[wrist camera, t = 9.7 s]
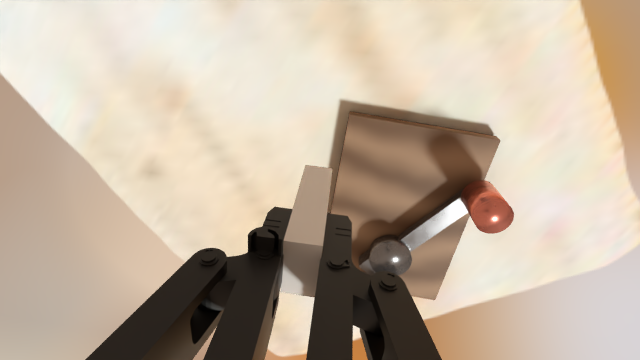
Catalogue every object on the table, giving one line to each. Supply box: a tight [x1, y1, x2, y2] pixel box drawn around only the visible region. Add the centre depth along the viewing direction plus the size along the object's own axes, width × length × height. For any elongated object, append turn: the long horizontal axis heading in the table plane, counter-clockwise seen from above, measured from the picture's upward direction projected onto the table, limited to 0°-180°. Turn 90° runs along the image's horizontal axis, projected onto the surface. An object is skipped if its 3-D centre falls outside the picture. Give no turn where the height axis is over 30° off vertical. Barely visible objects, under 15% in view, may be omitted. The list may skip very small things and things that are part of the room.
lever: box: [359, 180, 514, 276], centre depth 43 cm, size 20×6×7 cm, turn 136°
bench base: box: [330, 112, 500, 300], centre depth 43 cm, size 26×18×10 cm
